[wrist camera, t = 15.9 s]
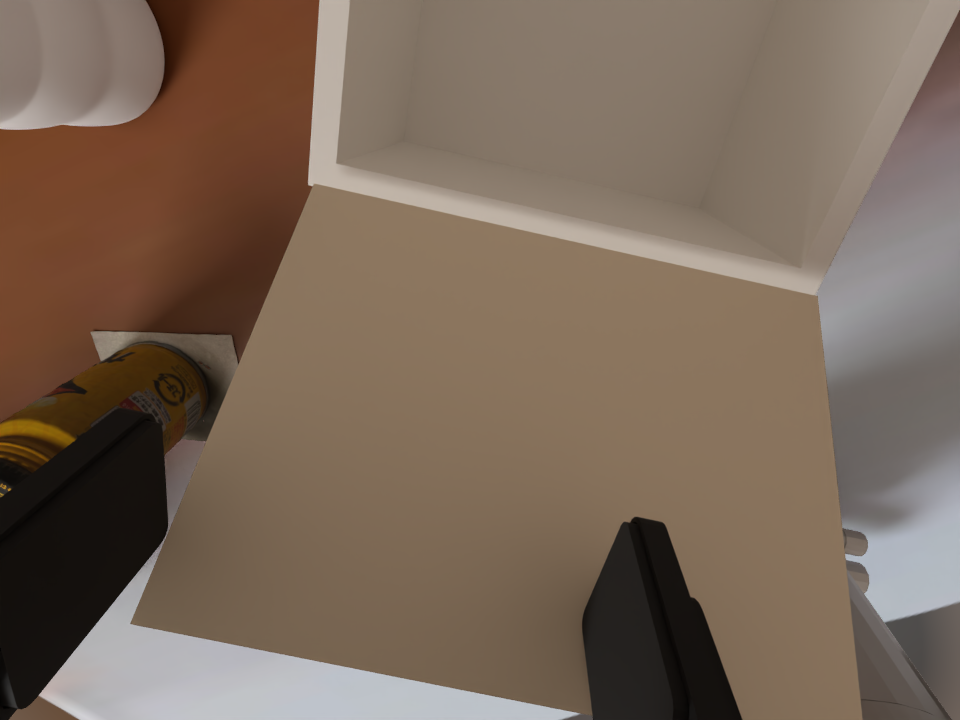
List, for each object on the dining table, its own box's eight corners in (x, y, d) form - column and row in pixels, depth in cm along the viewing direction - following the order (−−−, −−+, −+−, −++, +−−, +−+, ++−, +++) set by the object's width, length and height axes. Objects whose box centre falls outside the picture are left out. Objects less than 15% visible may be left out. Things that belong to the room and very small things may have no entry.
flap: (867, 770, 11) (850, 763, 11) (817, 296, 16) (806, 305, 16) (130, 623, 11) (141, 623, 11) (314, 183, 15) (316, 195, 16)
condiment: (92, 330, 32) (-129, 447, 21) (232, 333, 31) (80, 455, 20) (127, 435, 35) (-49, 584, 24) (255, 440, 34) (133, 594, 23)
